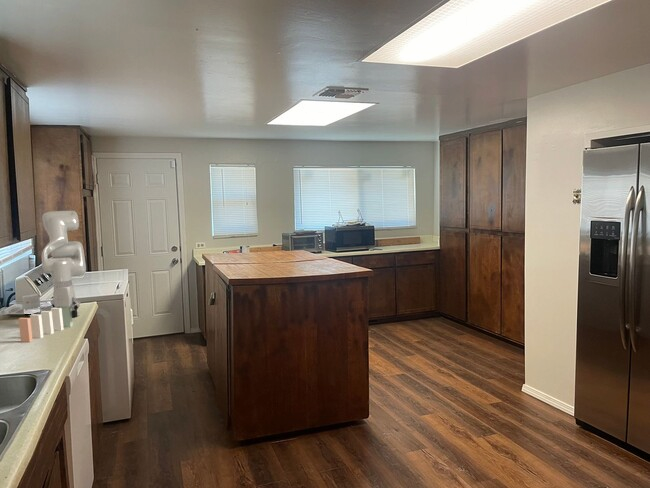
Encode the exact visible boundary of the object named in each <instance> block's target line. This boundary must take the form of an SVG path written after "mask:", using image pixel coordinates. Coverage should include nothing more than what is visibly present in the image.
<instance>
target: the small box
mask: <svg viewBox="0 0 650 488" xmlns="http://www.w3.org/2000/svg"><path fill="white" fill-rule="evenodd" d="M20 298H21V306H22V310H23V309H25V310H27V309H33V308H38V307H41V300H40V299H41V298H40V295H39V294H38V293H33V294H27V295H22V296H20Z"/></svg>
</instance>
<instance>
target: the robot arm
mask: <svg viewBox="0 0 650 488" xmlns="http://www.w3.org/2000/svg"><path fill="white" fill-rule="evenodd" d="M41 220H42V224H43V227H44V229H45V232H46V233H47V234H48V238H49V242H48V243H47V244H46V245H45V247H44V248H43V249H42V251H41V266H42V267H41V268H42V271H43V273H45V274H50V275H51V279H52V285H53V286H52V287H53V293H52V294H53V295H52V297H53V298H52V299H51V300H50V304H51V306H52V307H51V308H60V307H70V308H71V314H72V319H75V318H78V317H79V316H80V312H78V309H79V308H80V305H81V301H80V300H79V299H77V298H76V292H75V289H74V284H73V281H72V280H73V279H72V277H79V276H83V275H85V274H86V271H87V265H86V257H85V250H84V246H83V244H82V242H80V241H75V240H74V241H69V238H68V231H76V230H78V229H79V227H80V221H79V216H78V214H77V212H76V211H75V210H58V211H57V210H56V211H53V210H52V211H46V212H45V213H43V214H42V218H41ZM50 254H51V257H52V258H48V257H49V255H50Z"/></svg>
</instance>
